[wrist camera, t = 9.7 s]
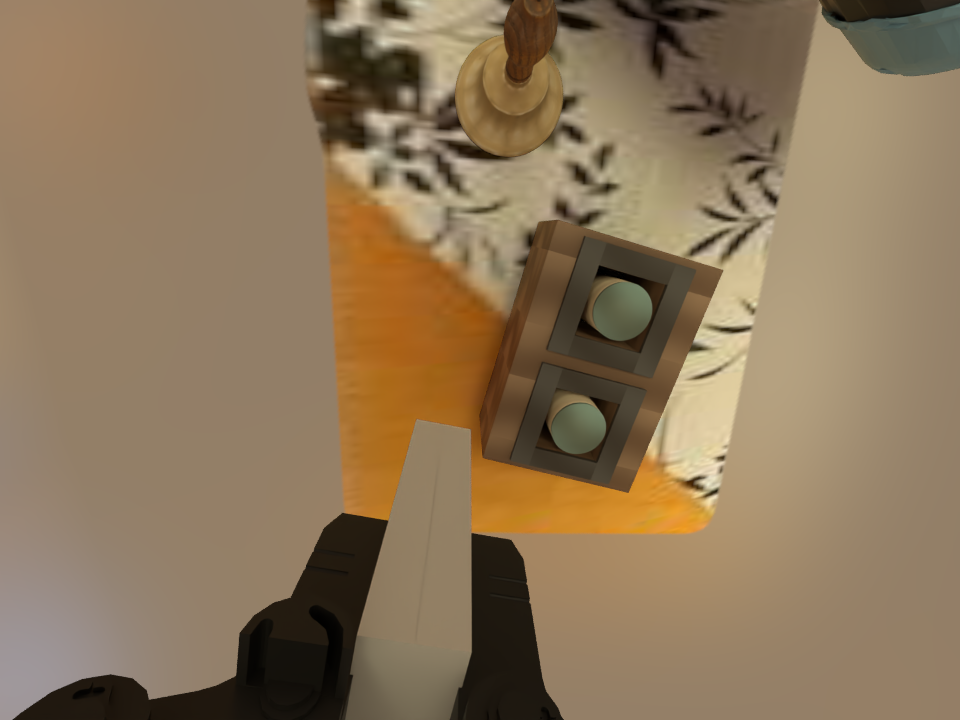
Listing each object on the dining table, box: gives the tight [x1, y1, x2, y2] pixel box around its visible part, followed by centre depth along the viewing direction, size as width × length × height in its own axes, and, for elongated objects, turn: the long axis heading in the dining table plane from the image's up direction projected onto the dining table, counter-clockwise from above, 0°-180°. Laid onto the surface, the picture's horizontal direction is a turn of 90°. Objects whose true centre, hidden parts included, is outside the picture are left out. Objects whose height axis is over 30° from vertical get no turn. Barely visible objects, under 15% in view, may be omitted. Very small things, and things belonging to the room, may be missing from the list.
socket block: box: [480, 220, 723, 493], centre depth 36 cm, size 18×12×8 cm, turn 164°
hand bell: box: [455, 0, 563, 157], centre depth 27 cm, size 8×8×16 cm
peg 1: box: [545, 388, 606, 454], centre depth 36 cm, size 4×4×8 cm
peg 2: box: [581, 272, 652, 341], centre depth 34 cm, size 4×4×8 cm
